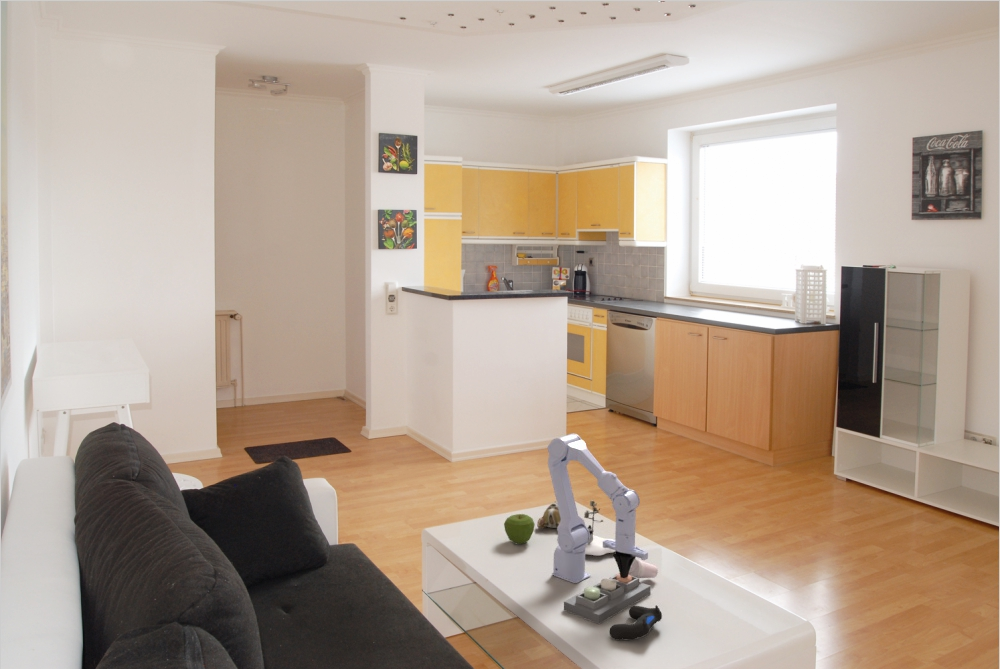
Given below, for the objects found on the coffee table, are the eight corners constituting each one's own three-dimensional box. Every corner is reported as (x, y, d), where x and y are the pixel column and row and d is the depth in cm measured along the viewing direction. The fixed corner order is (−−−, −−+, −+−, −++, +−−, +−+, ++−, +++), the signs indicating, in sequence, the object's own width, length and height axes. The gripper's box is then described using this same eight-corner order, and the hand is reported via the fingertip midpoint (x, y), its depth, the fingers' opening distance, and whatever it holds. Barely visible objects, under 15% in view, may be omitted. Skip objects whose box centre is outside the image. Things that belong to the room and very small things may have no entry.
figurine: (609, 561, 251) (611, 510, 251) (556, 552, 259) (558, 503, 259) (626, 546, 269) (628, 499, 269) (576, 539, 277) (578, 493, 277)
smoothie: (664, 571, 236) (632, 566, 228) (653, 586, 238) (621, 582, 230) (652, 556, 241) (621, 550, 233) (641, 571, 243) (610, 567, 235)
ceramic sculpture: (569, 498, 291) (565, 513, 276) (569, 520, 292) (565, 536, 278) (541, 496, 293) (535, 511, 278) (541, 518, 294) (535, 534, 280)
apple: (515, 534, 277) (515, 507, 276) (540, 541, 271) (540, 513, 269) (497, 543, 268) (498, 515, 267) (523, 550, 262) (523, 521, 261)
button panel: (563, 609, 218) (564, 594, 218) (616, 582, 237) (616, 567, 237) (598, 623, 210) (599, 608, 210) (650, 593, 229) (650, 579, 229)
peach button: (613, 583, 229) (613, 576, 229) (621, 578, 232) (622, 572, 232) (626, 587, 226) (626, 581, 226) (634, 583, 229) (634, 576, 229)
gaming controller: (614, 651, 201) (646, 641, 196) (604, 629, 202) (636, 619, 197) (639, 625, 215) (669, 615, 210) (629, 605, 216) (659, 595, 211)
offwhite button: (597, 588, 223) (597, 581, 223) (606, 583, 226) (606, 577, 226) (610, 593, 220) (610, 586, 220) (619, 588, 223) (619, 581, 223)
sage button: (580, 597, 217) (581, 590, 217) (590, 592, 221) (590, 585, 220) (593, 602, 214) (593, 595, 214) (603, 597, 218) (603, 590, 217)
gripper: (654, 534, 226) (652, 579, 227) (612, 522, 235) (611, 566, 237) (640, 541, 221) (639, 587, 222) (598, 528, 230) (597, 572, 232)
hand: (624, 576), depth 229 cm, fingers closed, pressing on peach button
